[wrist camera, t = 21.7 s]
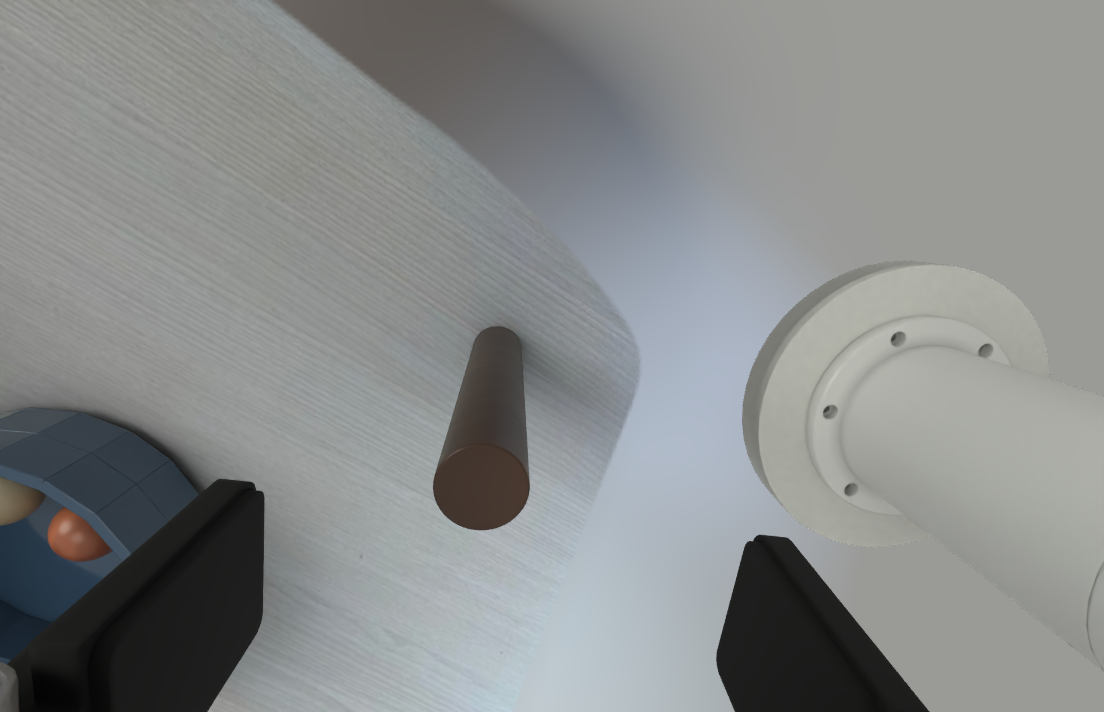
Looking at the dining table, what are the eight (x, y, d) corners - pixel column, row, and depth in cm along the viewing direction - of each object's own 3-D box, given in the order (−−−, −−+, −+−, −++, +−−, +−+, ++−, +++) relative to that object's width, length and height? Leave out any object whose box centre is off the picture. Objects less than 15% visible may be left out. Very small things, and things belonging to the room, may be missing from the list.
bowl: (219, 421, 29) (146, 473, 23) (221, 654, 33) (159, 749, 27) (-96, 388, 28) (-258, 436, 22) (-56, 637, 31) (-185, 734, 26)
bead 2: (108, 477, 29) (151, 506, 29) (92, 527, 30) (135, 556, 29) (39, 496, 26) (87, 529, 26) (23, 551, 27) (69, 585, 26)
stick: (525, 330, 29) (536, 450, 14) (517, 376, 30) (522, 536, 15) (476, 322, 29) (438, 438, 14) (470, 369, 29) (427, 525, 15)
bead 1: (-19, 550, 26) (-21, 502, 28) (63, 517, 28) (56, 473, 30) (-62, 515, 24) (-61, 465, 26) (30, 481, 26) (24, 436, 28)
